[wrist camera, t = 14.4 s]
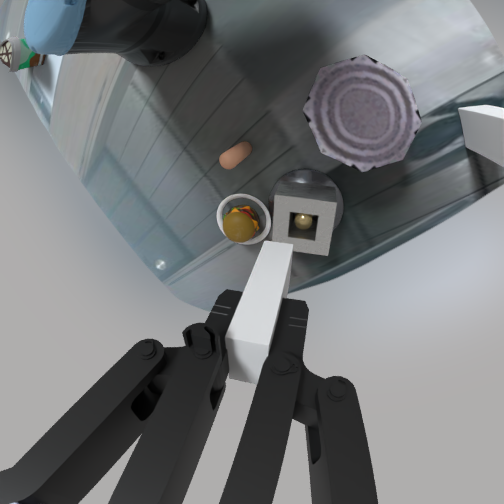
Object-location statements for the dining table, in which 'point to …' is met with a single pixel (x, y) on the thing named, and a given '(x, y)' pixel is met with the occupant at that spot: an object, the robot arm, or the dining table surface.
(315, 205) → the collar
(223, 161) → the sausage
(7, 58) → the food container
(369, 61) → the can
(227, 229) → the hamburger
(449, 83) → the dining table surface
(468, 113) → the milk
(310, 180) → the hub
